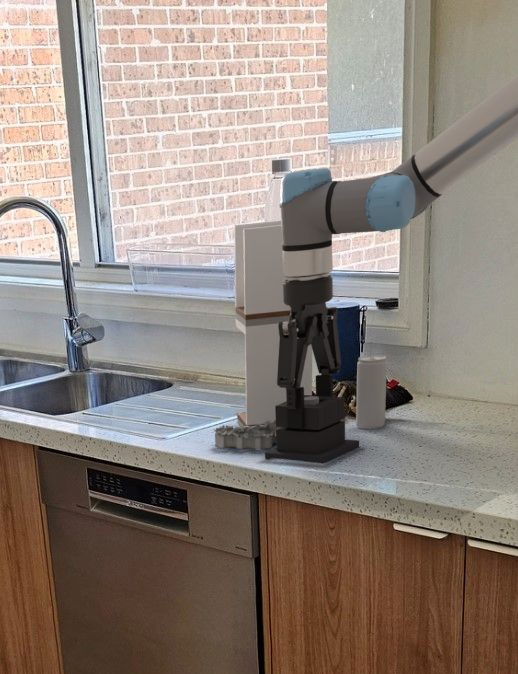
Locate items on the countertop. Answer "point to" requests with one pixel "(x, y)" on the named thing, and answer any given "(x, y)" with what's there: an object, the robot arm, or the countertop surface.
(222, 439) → the egg carton
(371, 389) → the beverage can
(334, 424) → the black square ring block
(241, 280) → the striped white tower
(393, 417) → the countertop surface
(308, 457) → the black base with peg
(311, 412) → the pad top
